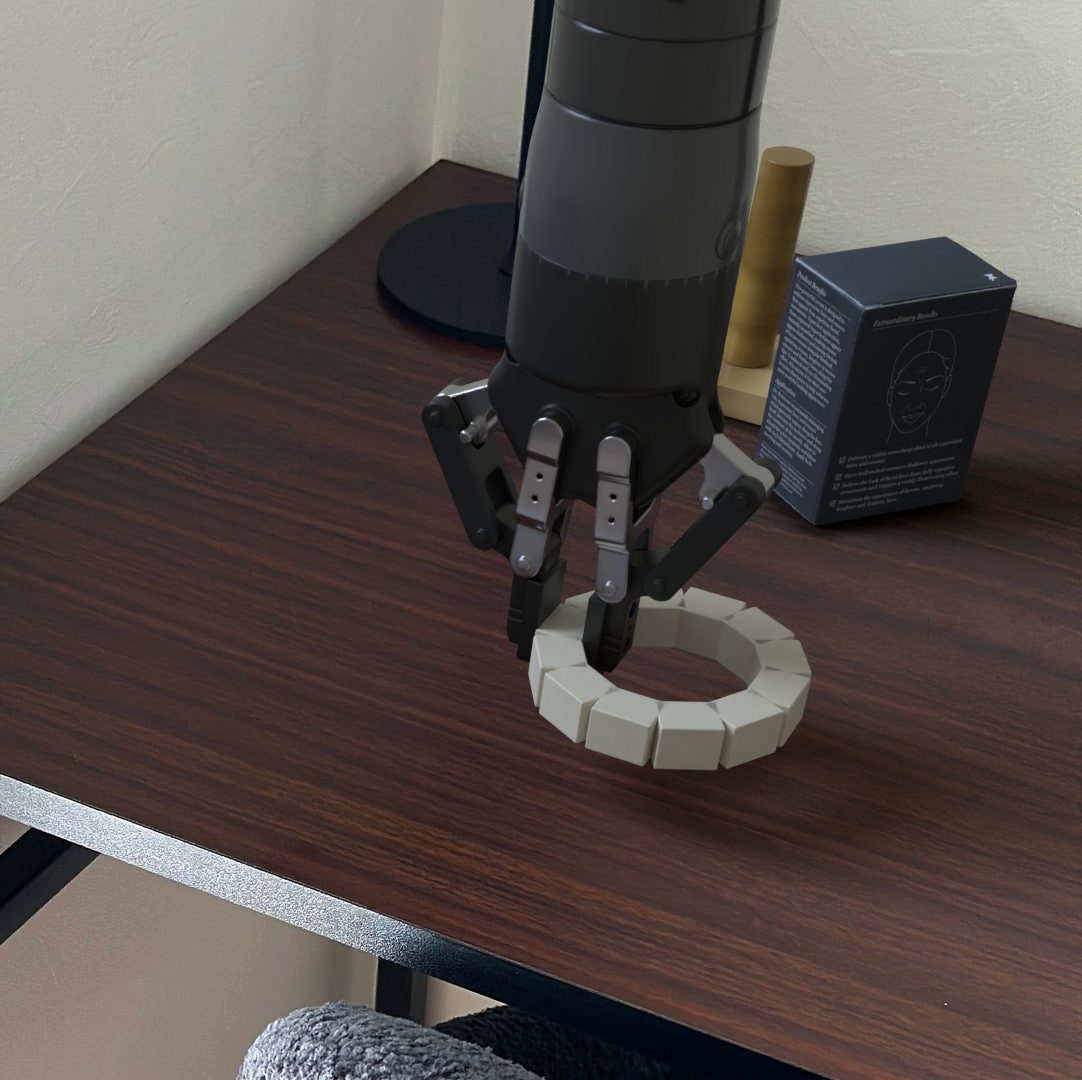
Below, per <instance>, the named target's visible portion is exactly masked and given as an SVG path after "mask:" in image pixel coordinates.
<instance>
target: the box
mask: <svg viewBox="0 0 1082 1080" xmlns="http://www.w3.org/2000/svg"><path fill="white" fill-rule="evenodd" d="M793 265H794V266H793V272H792V276H791V277H792V278H791V282H790V286H789V291H788V296H787V301H786V305H785V311H784V315H783V321H782V325H781V329H780V333H779V335H780V338H779V343H778V348H777V353H776V357H775V362H774V367H773V372H772V377H771V381H770V386H769V391H768V396H767V400H766V404H765V410H764V414H763V419H762V424H761V426H760V429H759V433H758V438H757V443H756V448H755V453H754V458H753V461H754V460H755V459H757V458H759V457H769V458H772V459H774V460H775V461H776V462H777V463H778V464H779V465H780V467H781V469H782V478H781V481H780V482H779V484H778V485H777V486H776V487H775V489H774V490H773V491H772V492H774V493H776V495H778V496H779V497H780V498H781V499H783V500H784V501H785V502H786V503H787V504H788V505H789V506H791V507H792V509H793V510H795V511H796V512H797V513H798V514H800V515H801V517H802V518H803V519H805V520H807V522H809V523H811V524H812V525H813V526H823V525H827V524H832V523H838V522H843V521H850V520H854V519H860V518H861V519H862V518H864V517H865V518H866V517H872V516H877V515H880V514H881V515H883V514H888V513H893V512H898V511H904V510H910V509H916V508H921V507H927V506H933V505H937V504H938V505H939V504H944V503H945V504H946V503H950V502H957V501H959V500H960V499H961V497H962V495H963V489H964V485H965V483H966V482H965V481H966V478H967V474H968V471H969V468H970V464H971V461H972V460H971V459H972V456H973V452H974V451H973V450H974V448H975V445H976V441H977V438H978V434H979V429H980V426H981V423H982V418H983V415H984V412H985V407H986V404H987V399H988V395H989V392H990V387H991V385H992V380H993V378H994V373H995V370H996V367H997V362H998V359H999V356H1000V355H999V354H1000V350H1001V347H1002V344H1003V341H1004V336H1005V332H1006V328H1007V324H1008V320H1009V317H1010V313H1011V309H1012V306H1013V302H1014V297H1015V294H1016V291H1017V288H1018V284H1017V283H1018V282H1017V279H1015V278H1013V277H1011V276H1009V275H1007V274H1005V273H1004V272H1002V271H1001V270H999V268H996V267H995V266H993V265H992V264H990V263H989V262H987V261H986V260H985V259H983V258H982V257H981V256H978V255H977V254H975V253H974V252H973V251H971V250H970V249H967V248H966V247H964V246H963V245H961V244H960V243H958V242H956V241H954V240H953V239H952V238H949V237H947V236H945V235H943V236H937V237H930V238H922V239H916V240H909V241H902V242H895V243H889V244H882V245H881V244H880V245H875V246H869V247H860V248H853V249H847V250H840V251H834V252H827V253H826V252H825V253H820V254H813V255H806V256H799V257H796V258H795V261H794V264H793Z"/></svg>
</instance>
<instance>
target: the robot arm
mask: <svg viewBox="0 0 1082 1080" xmlns="http://www.w3.org/2000/svg"><path fill="white" fill-rule="evenodd" d="M553 3H554V4H553V12H552V19H551V27H550V36H549V42H548V51H547V59H546V67H545V74H544V82H543V87H542V93H541V99H540V101H539V102H540V103H539V108H538V111H537V114H536V118H535V121H534V125H533V128H532V133H531V138H530V140H529V145H528V151H527V157H526V158H527V159H526V163H525V171H524V176H523V177H522V180H521V183H520V187H519V193H518V201H517V207H518V208H519V220H518V221H519V222H518V229H517V237H516V246H515V252H514V260H513V268H512V276H511V278H512V279H511V284H510V292H509V302H508V307H507V308H508V309H507V315H506V325H505V333H504V337H505V339H504V341H505V348H504V351H503V354H502V356H501V358H500V359H499V361H498V362H497V364H496V365H495V366H494V367H493V369H492V370H491V372H490V374H489V376H488V377H487V378H484V379H481V380H477V381H472V380H471V379H469V378H466V377H458V378H455V379H454V380H453V381H452V382H450V383H449V384H448V385H446V386H445V387H444V388H443V389H442V390H440V391H439V392H438V393H437V394H436V395H435V396H434V397H433V398H432V399H431V401H429V402H428V403H427V404H426V405H424V407H423V409H422V411H421V421H422V424H423V426H424V429H425V432H426V434H427V437H428V439H429V442H430V445H431V447H432V450H433V452H434V454H435V457H436V460H437V462H438V464H439V467H440V470H441V472H442V475H443V477H444V480H445V482H446V485H447V487H448V490H449V492H450V495H451V498H452V500H453V503H454V505H455V509H456V510H457V513H458V516H459V518H460V520H461V523H462V526H463V528H464V530H465V533H466V535H467V538H468V540H469V542H470V543H471V544H472V546H473V547H474V548H475V549H478V550H480V551H490V550H494V551H496V552H497V553H499V554H500V555H502V556H503V557H505V559H507V561H508V562H509V566H510V569H511V570H512V572H513V575H512V584H511V591H510V598H509V605H508V606H509V607H508V612H507V620H506V627H505V629H506V630H505V631H506V634H507V639H508V642H509V643H512V644H514V645H517V650H516V659H517V660H519V661H523V662H525V663H528V664H530V659H531V652H532V645H533V638H534V636H535V632H536V629H538V628H539V627H540V626H541V625H542V623H543V622H544V621H545V620H546V619H547V618H548V617H549V616H550V614H551V613H552V612H553V611H554V610H555V609H556V608H557V607H558V605H559V604H560V603H561V602H562V596H563V590H564V582H565V577H566V569H567V563H568V562H567V561H568V558H565V557H562V556H561V549H562V547H563V546H564V544H565V541H566V538H567V537H566V536H567V531H568V528H569V524H570V520H571V516H572V513H573V507H574V503H575V501H576V500H578V501H582V502H583V503H586V504H587V505H589V506H591V507H593V508H595V516H594V518H595V519H594V529H593V530H594V531H593V542H594V544H595V545H596V546H597V553H596V566H595V567H596V568H595V579H594V590H596V591H595V592H594V593H593V594H592V595H591V596H590V597H589V601H588V607H587V613H586V620H585V626H584V632H583V639H582V643H583V646H584V650H585V655H586V659H587V663H588V665H589V666H591V667H592V668H593V669H594V670H596V671H597V672H598V673H599V674H601V675H602V676H604V675H605V673H609V674H612V673H613V671H614V670H615V669H616V668H617V667H618V665H619V664H621V662H622V660H623V659H624V658H625V657H626V655H627V654H628V653H629V651H630V650H631V648H633V647H632V643H633V637H634V631H635V626H636V625H635V624H636V620H637V614H638V608H639V603H640V597H643V596H649V597H650V598H652V599H653V600H656V601H660V602H663V601H668V600H669V599H671V598H672V597H673V596H674V595H675V594H676V593H677V592H678V591H679V590H680V589H681V588H682V589H683V587H684V586H685V585H686V584H687V583H688V582H689V581H690V580H691V579H692V578H693V577H694V576H695V575H696V574H697V573H698V572H699V570H701V569H702V567H704V566H705V565H706V563H708V562H709V560H710V559H712V557H713V556H714V555H715V554H716V553H717V552H718V551H719V550H720V549H721V548H722V547H723V546H724V545H725V544H726V543H727V542H728V541H729V540H730V539H731V538H732V537H733V536H734V535H735V534H736V533H737V532H738V531H739V530H740V529H741V528H742V527H743V526H744V524H746V522H747V521H748V520H749V519H750V518H751V517H752V516H753V515H754V514H755V513H756V512H757V511H758V510H759V508H760V507H761V506H762V505H763V504H764V502H766V500H767V499H768V497H769V496H771V494H772V493H773V492H774V491H773V490H774V489H775V487H776V486H777V485H778V484H779V482H780V481H781V478H782V469H781V467H780V465H779V464H778V463H777V462H776V461H775V460H774V459H772V458H769V457H759V458H757V459H755V460H754V459H751V457H749V456H748V455H747V454H746V453H745V452H744V451H742V450H741V448H739V447H738V446H737V445H735V443H733V442H732V441H731V440H730V439H729V438H728V437H727V436H725V435H724V429H725V424H726V423H725V420H726V419H725V416H724V413H723V410H722V407H721V405H720V402H719V397H718V390H717V385H718V378H719V373H720V369H721V364H722V359H723V353H724V348H725V342H726V337H727V332H728V327H729V321H730V316H731V311H732V305H733V300H734V295H735V289H736V284H737V278H738V273H739V268H740V263H741V257H742V252H743V247H744V241H745V236H746V231H747V226H748V221H749V216H750V211H751V206H752V201H753V196H754V191H755V186H756V182H757V175H758V169H759V168H758V166H759V157H760V155H759V153H760V130H761V129H760V128H761V115H762V108H763V100H764V95H765V91H766V86H767V80H768V75H769V69H770V65H771V64H770V63H771V58H772V52H773V47H774V43H775V36H776V31H777V26H778V20H779V18H778V17H779V15H780V10H781V3H782V0H554V2H553ZM499 424H500V426H501V427H502V429H503V432H504V433H505V435H506V437H507V439H508V441H509V443H510V445H511V447H512V449H513V451H514V453H515V455H516V457H517V459H518V461H519V463H520V465H521V466H522V469H523V475H522V479H521V484H520V489H519V493H518V490H517V488H516V485H515V482H514V480H513V477H512V474H511V472H510V469H509V467H508V464H507V461H506V459H505V456H504V453H503V451H502V449H501V446H500V443H499V440H498V438H497V435H496V431H497V429H498V426H499ZM696 464H699V465H700V466H701V468H702V470H703V473H704V474H703V481H702V483H701V484H700V486H699V487H698V490H697V497H698V500H699V502H700V506H701V509H703V510H704V512H703V513H702V514H701V515H700V516H699V517H698V518H697V519H696V520H695V521H694V522H693V523H692V524H691V525H690V527H688V528H687V530H686V531H685V532H684V533H683V534H682V535H681V536H680V537H679V538H678V539H677V540H676V541H675V542H674V543H673V544H672V545H671V547H669V548H661V549H653V540H654V539H653V538H654V527H655V522H656V520H657V517H658V515H659V512H660V508H661V501H662V493H663V492H664V491H666V490H667V489H668V488H669V487H670V486H672V485H673V484H674V483H675V482H676V481H678V480H679V479H680V478H681V477H683V476H684V475H685V474H686V473H687V472H689V470H691V469H692V468H694V466H696ZM561 604H562V603H561Z"/></svg>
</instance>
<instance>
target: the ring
mask: <svg viewBox="0 0 1082 1080" xmlns="http://www.w3.org/2000/svg"><path fill="white" fill-rule="evenodd" d="M595 591H596V590H595V589H594V590H592V591H587V592H584V593H581V594H578V595H575V596H572V597H568V598H566V599H565V601H564V603H560V604H559V605H558V607H557V608H556V609H555V610H554V611H553V612H552V613H551V614H550V616H549V617H548V618H547V619H546V620H545V621H544V622H543V623H542V625H541V626H540V627H539V628H538V629H536V632H535V636H534V638H533V645H532V652H531V659H530V663H529V665H528V666H529V667H528V679H529V684H530V688H531V693H532V698H533V699H532V700H533V703H534V707H535V708H539V711H538V713H539V715H540V716H542V717H543V719H545V720H546V721H548V722H549V723H550V724H551V725H553V726H554V727H555V728H556V729H557V730H558V731H560V732H561V733H562V734H563V735H565V736H566V738H568V739H569V740H570V741H572V742H573V743H574V744H579V743H583V742H585V745H584V747H585V749H587V750H590V751H593V752H596V753H599V754H602V755H605V756H608V757H612V758H615V759H617V760H621V761H624V762H627V763H630V764H633V765H636V766H639V767H645V765H647V764H646V763H648V761H649V760H650V759H651V763H652V766H653V769H655V770H684V771H685V770H687V771H689V770H690V771H692V770H693V771H718V767H719V765H721V766H722V767H724V768H725V769H726V770H727V769H731V768H734V767H737V766H739V765H742V764H745V763H749V762H751V761H754V760H757V759H759V758H762V757H765V756H768V755H772V754H774V753H776V751H777V747H779V748H782V747H783V746H784V745H785V744H786V742H787V740H788V739H789V738H790V737H791V735H792V733H793V732H794V731H795V729H796V728H797V726H798V724H799V723H800V722H801V721H802V719H803V716H804V712H805V707H806V704H807V699H808V695H809V692H810V691H809V690H810V687H811V682H812V679H811V677H812V674H813V673H812V670H811V667H810V664H809V662H808V659H807V656H806V654H805V651H804V648H803V645H802V643H801V641H800V640H799V639H795V636H796V634H795V633H794V632H793V631H791V630H789V629H788V627H785V626H784V625H783V624H781V623H780V622H778V621H777V620H776V619H774V618H773V617H772V616H770V615H768V614H766V612H764V611H762V610H761V609H760V608H758V607H757V606H753V607H749V608H747V602H745V601H742V600H739V599H735V598H732V597H728V596H725V595H721V594H718V593H715V592H711V591H707V590H704V589H700V588H698V587H694V586H690V587H689V588H688V589H687V591H686V592H685V593H684V592H683V587H682V588H681V589H680V590H679V591H678V592H677V593H676V594H675V595H674V596H673V597H672V598H671V599H669V600H668V601H663V602H660V601H656V600H653V599H652V598H650V597H649V596H643V597H640V603H639V608H638V614H637V620H636V624H635V625H636V626H635V631H634V637H633V643H632V647H631V648H663V649H665V648H670V649H671V648H672V649H678V650H681V651H684V652H687V653H691V654H694V655H698V656H700V657H704V658H706V659H711V660H713V661H716V662H717V663H719V664H720V665H721V666H722V667H724V668H726V670H727V671H729V672H731V673H732V674H733V675H735V676H736V677H737V678H739V679H740V680H741V681H743V682H745V685H746V687H747V689H745V690H742V691H738V692H735V693H732V694H730V695H726V696H723V697H720V698H717V699H714V700H711V701H671V700H668V701H665V700H658V699H656V698H653V697H649V696H645V695H642V694H639V693H636V692H633V691H631V690H630V691H629V690H626V689H623V688H619V687H618V686H616V685H615V684H614V683H612V682H611V681H610V680H608V679H607V677H605V676H604V675H601V674H599V673H598V672H597V671H596V670H594V669H593V668H592V667H591V666H589V665H588V663H587V659H586V655H585V650H584V646H583V643H582V639H583V632H584V626H585V620H586V613H587V607H588V601H589V597H590V596H591V595H592V594H593V593H594V592H595Z"/></svg>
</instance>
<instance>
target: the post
mask: <svg viewBox="0 0 1082 1080" xmlns="http://www.w3.org/2000/svg"><path fill="white" fill-rule="evenodd" d="M815 163H816V157H815V155H814V154H813V153H811V152H810V151H808V150H805V149H803V148H800V147H795V146H787V145H786V146H785V145H779V146H770V147H767V148H765V149H764V150H763V151H762V153H761V158H760V162H759V168H758V171H757V176H756V181H755V187H754V193H753V198H752V204H751V209H750V215H749V220H748V225H747V231H746V236H745V241H744V247H743V252H742V257H741V263H740V268H739V273H738V278H737V284H736V289H735V295H734V300H733V305H732V311H731V316H730V321H729V327H728V332H727V337H726V342H725V348H724V353H723V359H722V364H721V369H720V373H719V378H718V385H717V390H718V397H719V402H720V405H721V407H722V410H723V413H724V417H728V418H731V419H735V420H739V421H742V422H745V423H750V424H753V425H757V426H760V427H761V424H762V419H763V414H764V410H765V404H766V400H767V396H768V391H769V386H770V381H771V377H772V372H773V367H774V362H775V357H776V353H777V348H778V343H779V338H780V333H779V334H778V332H779V327H780V323H781V318H782V314H783V309H784V306H785V305H784V304H785V301H786V296H787V292H788V286H789V283H790V282H789V281H790V277H791V273H792V269H793V265H794V259H795V254H796V250H797V245H798V241H799V240H798V239H799V236H800V231H801V227H802V222H803V217H804V213H805V208H806V204H807V201H808V195H809V191H810V186H811V182H812V176H813V172H814V168H815Z"/></svg>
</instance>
